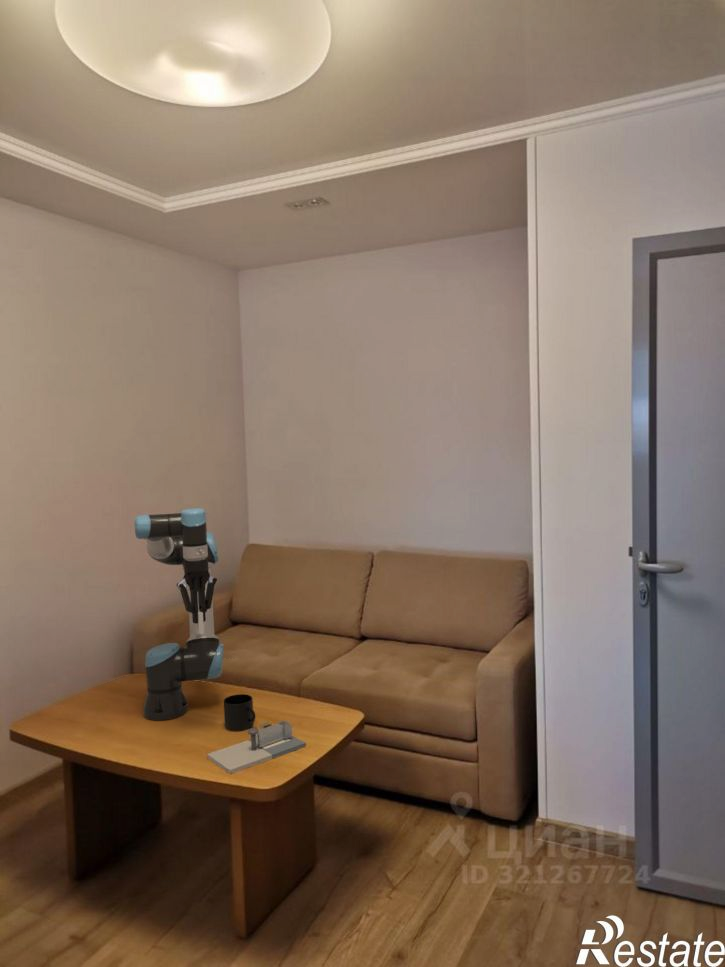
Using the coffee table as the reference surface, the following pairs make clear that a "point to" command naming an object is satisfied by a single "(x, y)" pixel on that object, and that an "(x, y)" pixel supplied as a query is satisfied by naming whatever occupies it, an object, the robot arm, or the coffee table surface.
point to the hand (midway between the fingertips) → (199, 632)
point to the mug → (238, 712)
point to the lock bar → (273, 733)
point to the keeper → (265, 725)
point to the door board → (252, 752)
